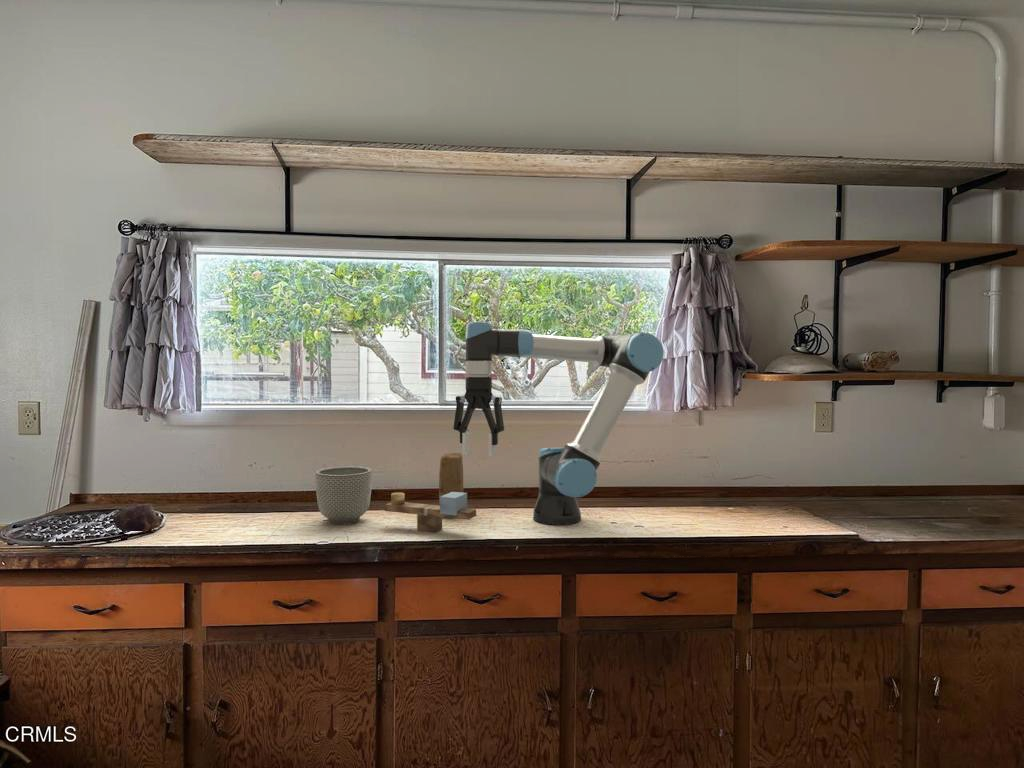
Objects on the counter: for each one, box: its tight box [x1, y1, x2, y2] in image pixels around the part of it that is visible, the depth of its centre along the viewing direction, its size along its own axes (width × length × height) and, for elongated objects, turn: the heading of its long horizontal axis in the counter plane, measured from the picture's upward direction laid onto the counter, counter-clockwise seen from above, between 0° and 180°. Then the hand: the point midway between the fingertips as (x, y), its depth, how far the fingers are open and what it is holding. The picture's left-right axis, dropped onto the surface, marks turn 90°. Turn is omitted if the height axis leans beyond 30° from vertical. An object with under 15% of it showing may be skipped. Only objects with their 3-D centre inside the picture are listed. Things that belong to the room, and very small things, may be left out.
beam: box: [384, 491, 477, 534], centre depth 187 cm, size 28×5×10 cm, turn 68°
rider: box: [440, 492, 468, 515], centre depth 184 cm, size 5×8×5 cm, turn 158°
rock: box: [111, 503, 163, 533], centre depth 183 cm, size 12×9×10 cm
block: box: [438, 452, 465, 506], centre depth 207 cm, size 11×8×20 cm
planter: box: [314, 466, 373, 526], centre depth 197 cm, size 17×17×16 cm
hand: (478, 455), depth 181 cm, fingers open, 8 cm apart
